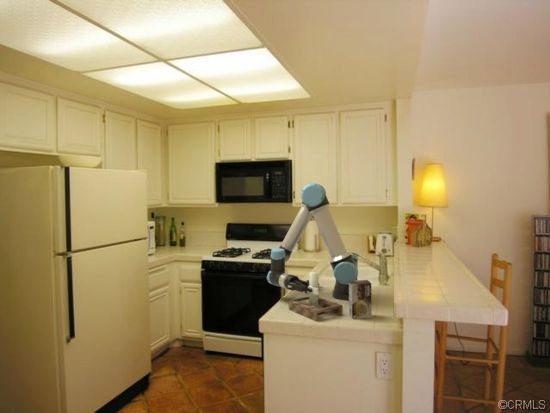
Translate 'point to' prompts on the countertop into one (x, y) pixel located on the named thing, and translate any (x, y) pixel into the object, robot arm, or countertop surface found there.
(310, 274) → the cream rod gray base
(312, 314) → the brown square frame
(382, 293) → the countertop surface
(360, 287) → the coffee box
